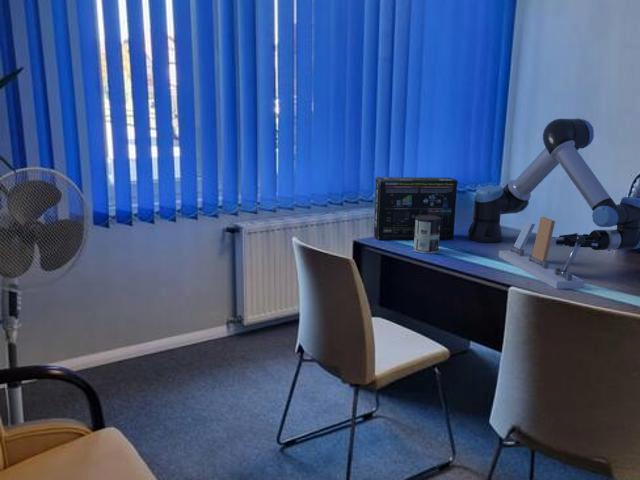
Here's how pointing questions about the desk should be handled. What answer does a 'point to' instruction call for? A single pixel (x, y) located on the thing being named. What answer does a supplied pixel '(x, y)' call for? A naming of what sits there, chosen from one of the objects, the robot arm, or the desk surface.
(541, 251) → the brown paddle
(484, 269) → the desk surface
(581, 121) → the robot arm
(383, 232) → the router box
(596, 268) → the desk surface
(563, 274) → the grey metal toggle
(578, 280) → the switch panel
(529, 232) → the pale blue paddle
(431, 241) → the coffee can
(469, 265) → the desk surface
